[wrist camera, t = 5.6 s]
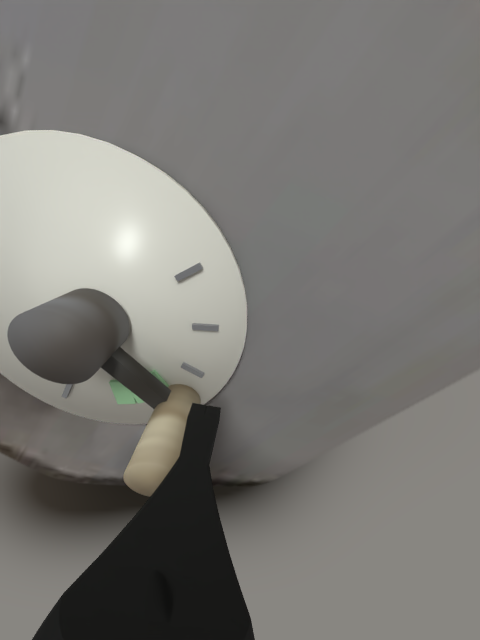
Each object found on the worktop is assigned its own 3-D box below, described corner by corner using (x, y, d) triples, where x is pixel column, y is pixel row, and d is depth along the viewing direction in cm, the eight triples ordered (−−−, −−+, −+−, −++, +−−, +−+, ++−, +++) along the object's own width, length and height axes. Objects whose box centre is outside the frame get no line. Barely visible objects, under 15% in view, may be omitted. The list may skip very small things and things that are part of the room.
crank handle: (46, 315, 12) (-76, 377, 7) (86, 273, 11) (-27, 315, 6) (175, 419, 15) (145, 507, 10) (216, 394, 14) (202, 479, 9)
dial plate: (19, 405, 16) (3, 419, 15) (-120, 126, 9) (-168, 114, 8) (239, 419, 16) (238, 434, 15) (260, 150, 9) (261, 141, 8)
